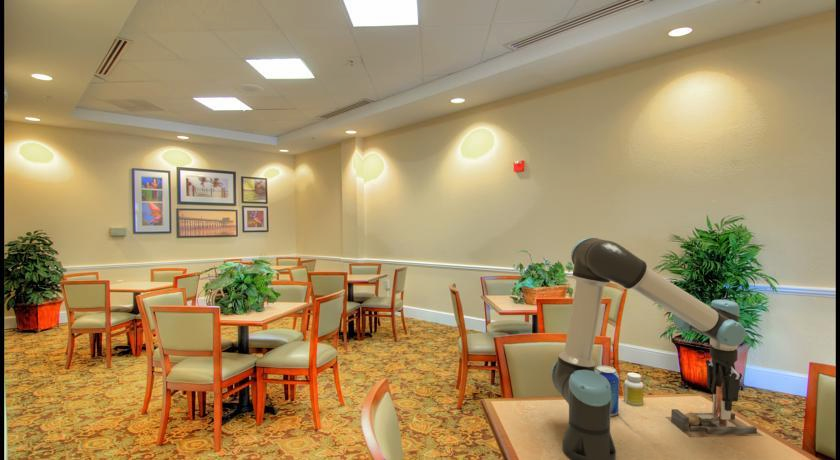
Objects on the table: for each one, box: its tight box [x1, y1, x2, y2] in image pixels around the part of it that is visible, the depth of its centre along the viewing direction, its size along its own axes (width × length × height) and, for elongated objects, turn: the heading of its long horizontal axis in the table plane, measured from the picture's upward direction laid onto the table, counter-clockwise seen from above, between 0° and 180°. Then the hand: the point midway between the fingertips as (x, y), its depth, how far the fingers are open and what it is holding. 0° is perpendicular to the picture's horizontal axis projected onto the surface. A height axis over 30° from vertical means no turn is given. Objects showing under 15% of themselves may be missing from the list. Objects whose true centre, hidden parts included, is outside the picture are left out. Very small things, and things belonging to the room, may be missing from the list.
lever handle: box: [697, 385, 736, 427], centre depth 142 cm, size 10×7×13 cm
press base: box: [665, 408, 764, 438], centre depth 142 cm, size 24×13×6 cm, turn 92°
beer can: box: [594, 365, 620, 418], centre depth 154 cm, size 8×8×16 cm
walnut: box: [684, 412, 700, 426], centre depth 142 cm, size 4×4×4 cm
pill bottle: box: [623, 372, 645, 407], centre depth 159 cm, size 6×6×12 cm
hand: (721, 415), depth 142 cm, fingers closed on lever handle, 3 cm apart
